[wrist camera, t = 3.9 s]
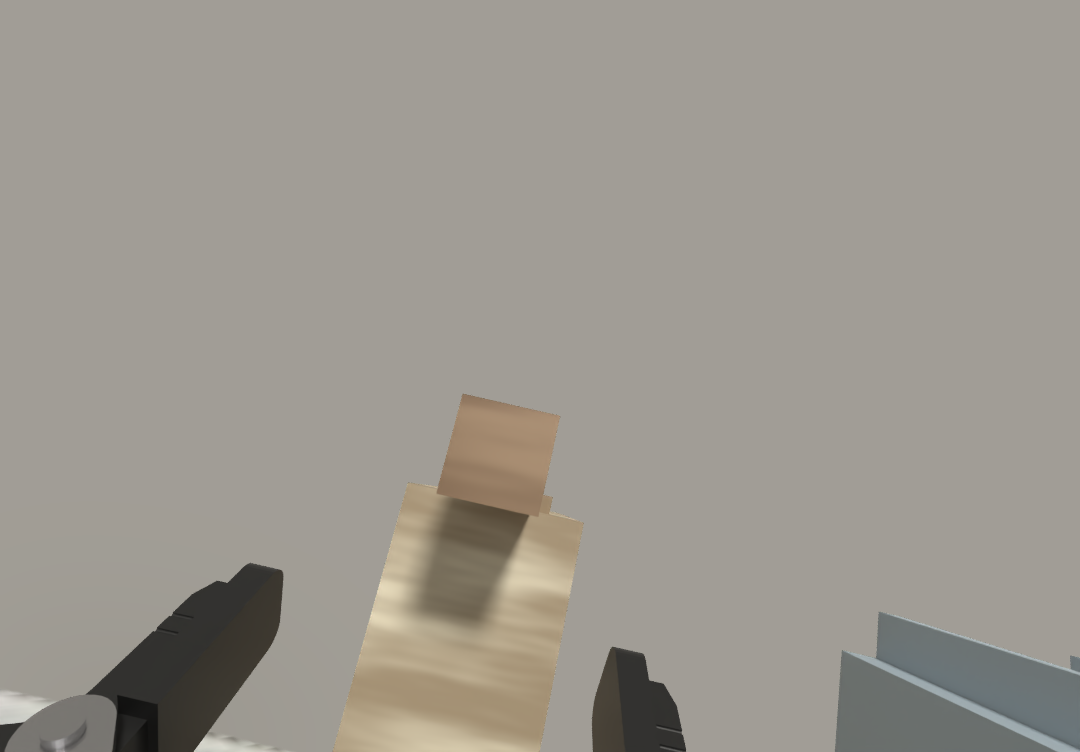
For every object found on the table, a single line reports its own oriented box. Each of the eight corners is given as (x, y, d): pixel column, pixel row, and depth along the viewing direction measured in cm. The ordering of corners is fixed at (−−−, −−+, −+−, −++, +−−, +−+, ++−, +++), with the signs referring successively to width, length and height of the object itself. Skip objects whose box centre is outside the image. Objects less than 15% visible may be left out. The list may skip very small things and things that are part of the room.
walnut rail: (479, 495, 42) (490, 449, 43) (525, 505, 42) (536, 459, 43) (436, 493, 19) (462, 393, 20) (538, 517, 19) (560, 415, 20)
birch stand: (329, 936, 36) (455, 453, 44) (465, 968, 36) (566, 478, 44) (186, 1273, 20) (422, 430, 29) (427, 1331, 20) (593, 469, 29)
